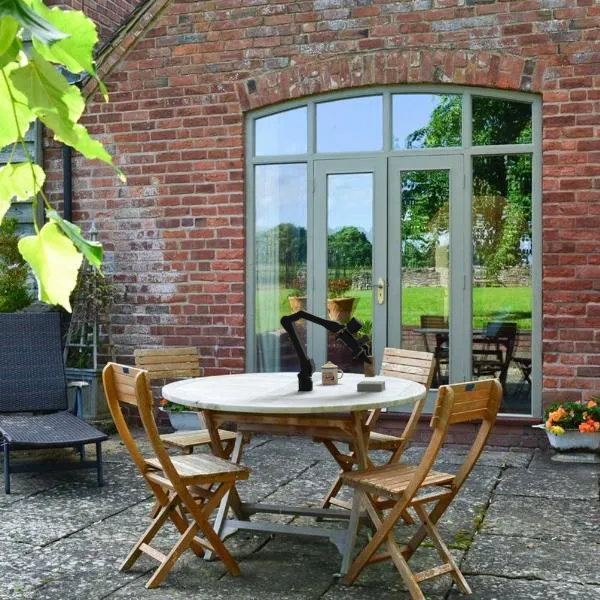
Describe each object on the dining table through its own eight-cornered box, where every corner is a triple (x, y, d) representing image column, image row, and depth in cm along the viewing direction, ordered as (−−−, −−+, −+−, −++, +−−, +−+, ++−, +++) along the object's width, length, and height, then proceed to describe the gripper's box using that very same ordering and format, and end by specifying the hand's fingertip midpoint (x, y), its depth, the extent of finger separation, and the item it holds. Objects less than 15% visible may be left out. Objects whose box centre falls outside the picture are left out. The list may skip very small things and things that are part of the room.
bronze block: (364, 377, 410) (364, 356, 410) (366, 376, 415) (365, 355, 415) (373, 377, 409) (373, 356, 409) (375, 376, 413) (374, 355, 413)
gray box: (357, 392, 411) (357, 384, 411) (361, 389, 423) (361, 381, 423) (381, 392, 408) (381, 383, 408) (385, 389, 420) (385, 381, 420)
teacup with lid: (319, 384, 446) (318, 362, 446) (324, 382, 455) (323, 360, 455) (341, 384, 443) (340, 362, 442) (345, 382, 451) (345, 360, 451)
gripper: (356, 330, 404) (379, 352, 401) (364, 328, 422) (387, 349, 419) (341, 346, 406) (364, 369, 403) (349, 343, 424) (372, 365, 421)
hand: (372, 363), depth 411 cm, fingers closed on bronze block, 4 cm apart
